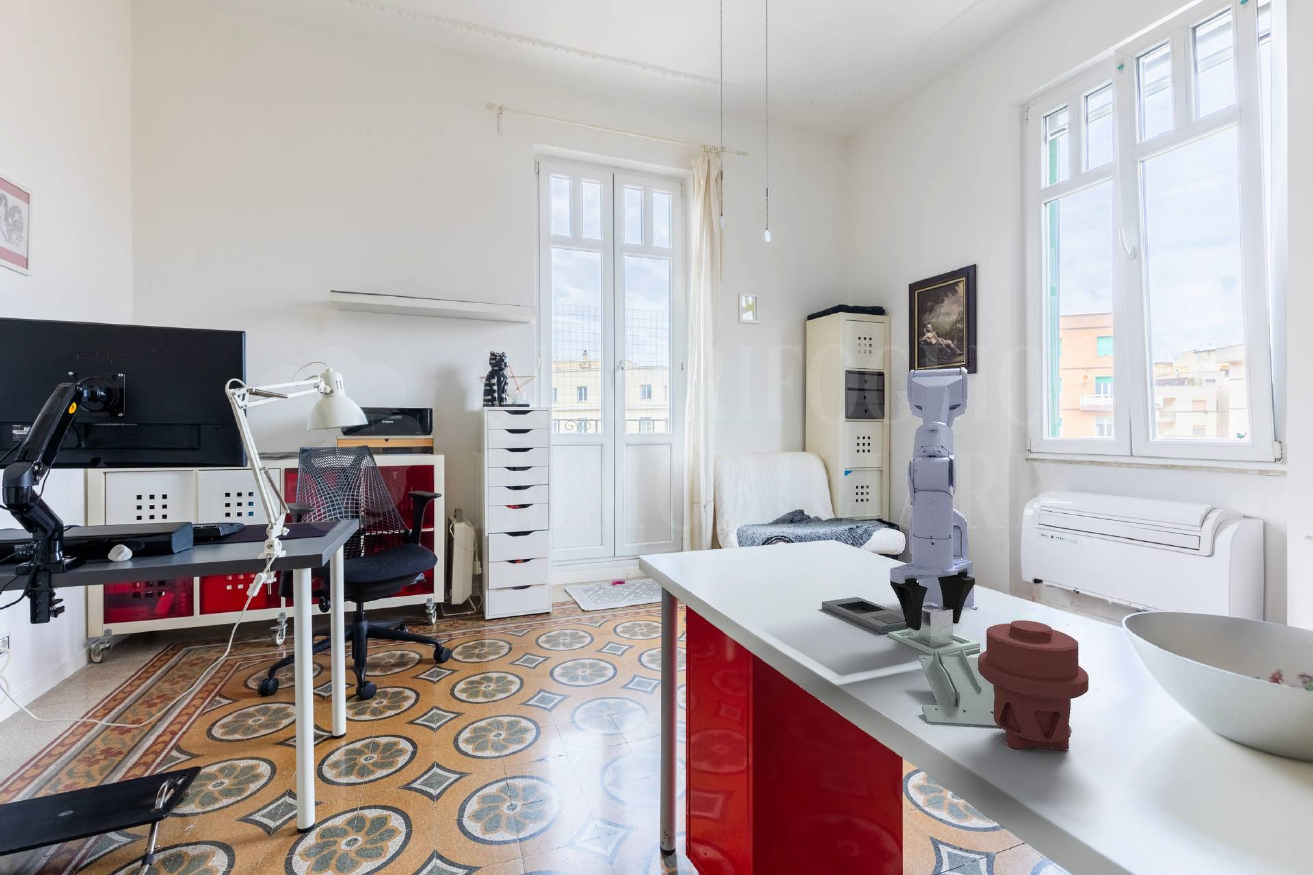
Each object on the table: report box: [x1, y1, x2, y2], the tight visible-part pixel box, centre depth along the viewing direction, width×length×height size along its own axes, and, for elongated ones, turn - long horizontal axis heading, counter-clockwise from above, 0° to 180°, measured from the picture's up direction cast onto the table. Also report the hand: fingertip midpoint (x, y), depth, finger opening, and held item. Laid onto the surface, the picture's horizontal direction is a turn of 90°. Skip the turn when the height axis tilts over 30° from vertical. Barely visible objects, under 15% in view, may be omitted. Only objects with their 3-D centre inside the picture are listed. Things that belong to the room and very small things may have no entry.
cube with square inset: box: [907, 602, 954, 648], centre depth 93 cm, size 4×4×6 cm
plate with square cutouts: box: [821, 596, 908, 635], centre depth 104 cm, size 8×15×2 cm, turn 22°
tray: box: [887, 629, 981, 657], centre depth 92 cm, size 9×9×2 cm
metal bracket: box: [918, 648, 1073, 734], centre depth 74 cm, size 14×6×15 cm
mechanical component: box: [977, 619, 1090, 752], centre depth 65 cm, size 12×10×10 cm
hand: (932, 625), depth 92 cm, fingers open, 7 cm apart
